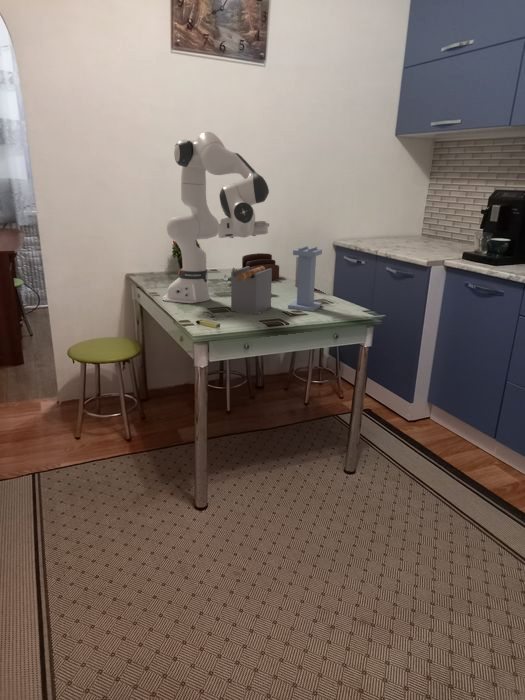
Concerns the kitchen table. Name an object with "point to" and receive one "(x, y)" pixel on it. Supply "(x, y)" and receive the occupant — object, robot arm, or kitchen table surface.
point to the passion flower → (230, 277)
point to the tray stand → (251, 291)
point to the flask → (296, 271)
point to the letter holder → (261, 263)
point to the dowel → (249, 273)
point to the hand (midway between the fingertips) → (242, 235)
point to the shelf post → (306, 279)
